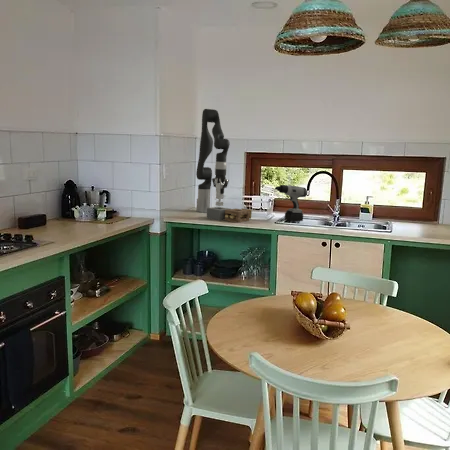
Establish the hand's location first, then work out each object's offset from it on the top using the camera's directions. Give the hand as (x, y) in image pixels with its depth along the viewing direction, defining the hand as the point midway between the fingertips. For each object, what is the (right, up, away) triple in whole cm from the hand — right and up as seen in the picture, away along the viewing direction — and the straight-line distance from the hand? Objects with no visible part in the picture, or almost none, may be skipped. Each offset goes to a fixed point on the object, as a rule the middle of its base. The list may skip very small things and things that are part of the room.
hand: (219, 193), depth 330 cm
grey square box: (-1, -17, +3) cm, 17 cm away
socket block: (+12, -19, -2) cm, 22 cm away
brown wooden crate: (+12, -17, -2) cm, 22 cm away
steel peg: (0, -8, +1) cm, 8 cm away
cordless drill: (+49, -19, +8) cm, 53 cm away
